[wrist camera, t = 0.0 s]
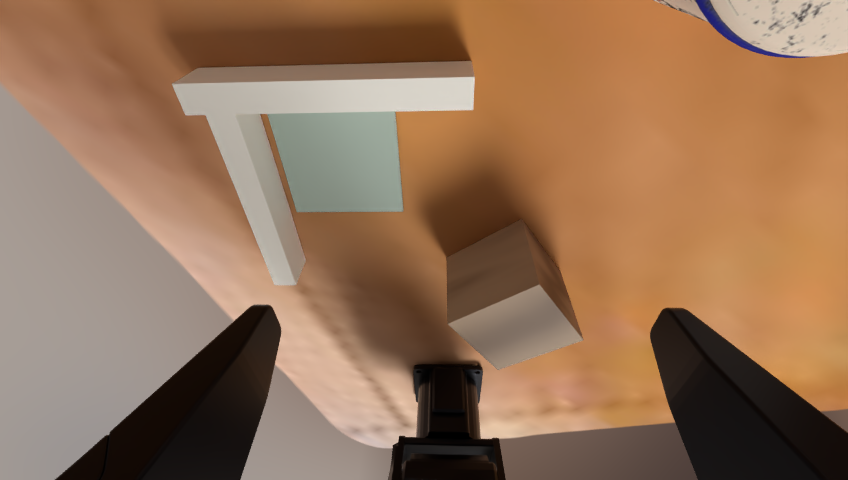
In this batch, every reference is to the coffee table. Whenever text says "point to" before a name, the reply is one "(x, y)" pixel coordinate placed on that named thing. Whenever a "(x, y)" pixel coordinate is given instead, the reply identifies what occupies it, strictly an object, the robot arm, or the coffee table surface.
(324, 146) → the pad
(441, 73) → the white angled bracket
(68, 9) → the coffee table surface
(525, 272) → the walnut cube
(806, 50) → the teacup with lid
